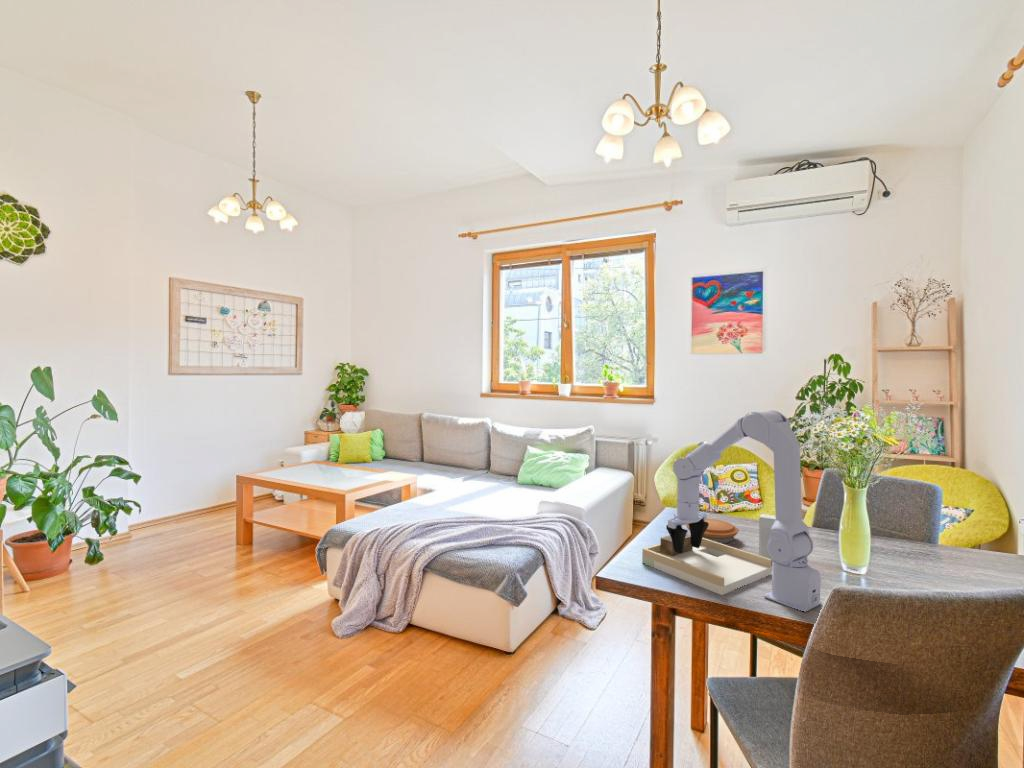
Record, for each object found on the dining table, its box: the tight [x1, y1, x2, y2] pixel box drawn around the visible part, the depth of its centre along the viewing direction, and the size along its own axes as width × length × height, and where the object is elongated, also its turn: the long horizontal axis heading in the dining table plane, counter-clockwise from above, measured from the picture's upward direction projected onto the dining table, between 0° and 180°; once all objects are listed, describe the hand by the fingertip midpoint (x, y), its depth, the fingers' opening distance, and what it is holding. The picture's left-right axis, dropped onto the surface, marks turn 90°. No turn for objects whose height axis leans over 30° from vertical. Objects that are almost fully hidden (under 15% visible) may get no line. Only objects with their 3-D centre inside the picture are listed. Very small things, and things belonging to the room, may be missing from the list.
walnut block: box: [659, 533, 693, 556], centre depth 145 cm, size 4×9×4 cm, turn 125°
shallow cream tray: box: [641, 538, 772, 596], centre depth 138 cm, size 24×22×4 cm
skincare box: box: [758, 513, 776, 559], centre depth 145 cm, size 6×4×12 cm
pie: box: [685, 518, 740, 545], centre depth 163 cm, size 16×16×5 cm
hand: (687, 549), depth 142 cm, fingers open, 7 cm apart
